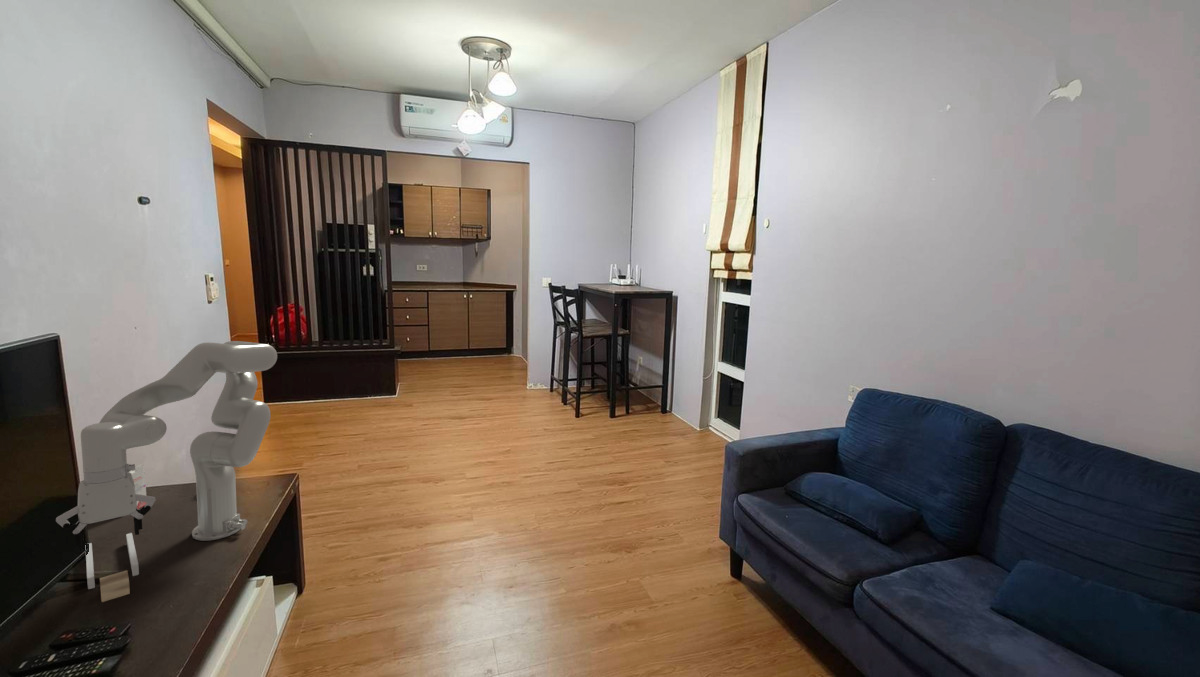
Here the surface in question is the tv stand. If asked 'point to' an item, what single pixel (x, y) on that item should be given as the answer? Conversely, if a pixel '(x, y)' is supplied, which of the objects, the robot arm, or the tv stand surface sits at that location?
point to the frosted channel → (131, 555)
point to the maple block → (114, 586)
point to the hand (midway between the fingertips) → (110, 539)
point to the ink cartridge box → (139, 483)
